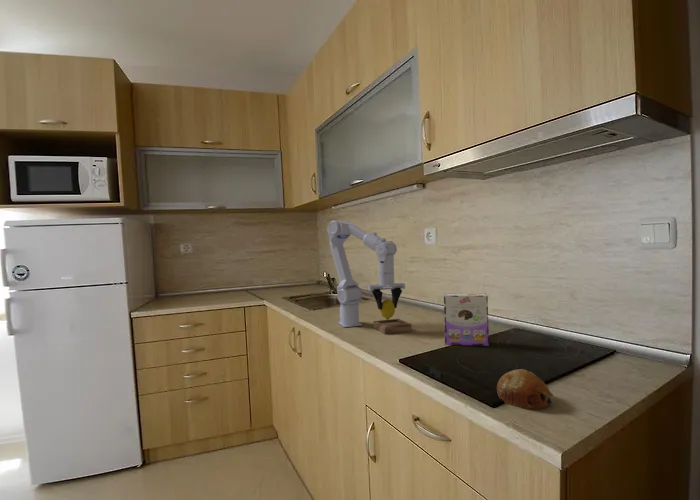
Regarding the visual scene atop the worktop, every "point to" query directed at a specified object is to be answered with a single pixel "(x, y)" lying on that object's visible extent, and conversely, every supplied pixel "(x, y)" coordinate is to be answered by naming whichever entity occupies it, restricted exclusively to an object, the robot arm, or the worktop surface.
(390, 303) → the lemon
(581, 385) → the worktop surface
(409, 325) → the base
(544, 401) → the reddish brown rounded lump
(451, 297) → the candy box
